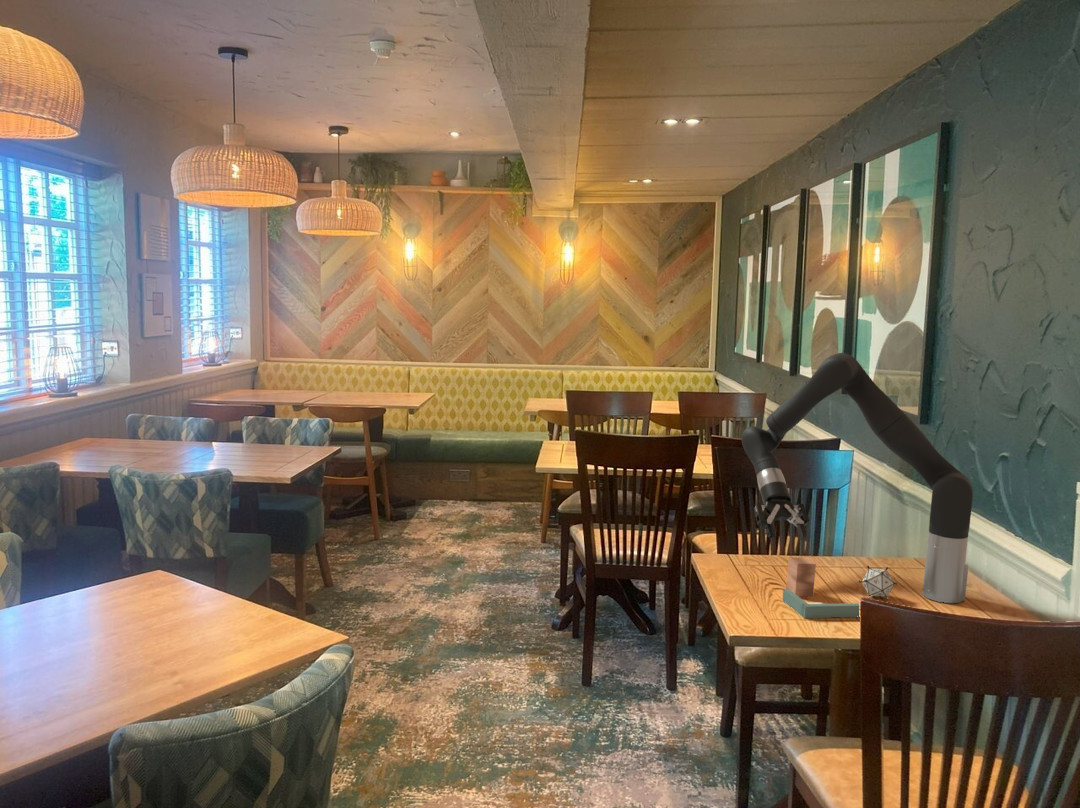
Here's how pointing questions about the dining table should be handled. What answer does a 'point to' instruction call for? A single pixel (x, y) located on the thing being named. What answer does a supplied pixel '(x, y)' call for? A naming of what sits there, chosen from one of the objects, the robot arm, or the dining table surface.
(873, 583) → the game die
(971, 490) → the robot arm
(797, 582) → the terracotta block
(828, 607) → the wall
